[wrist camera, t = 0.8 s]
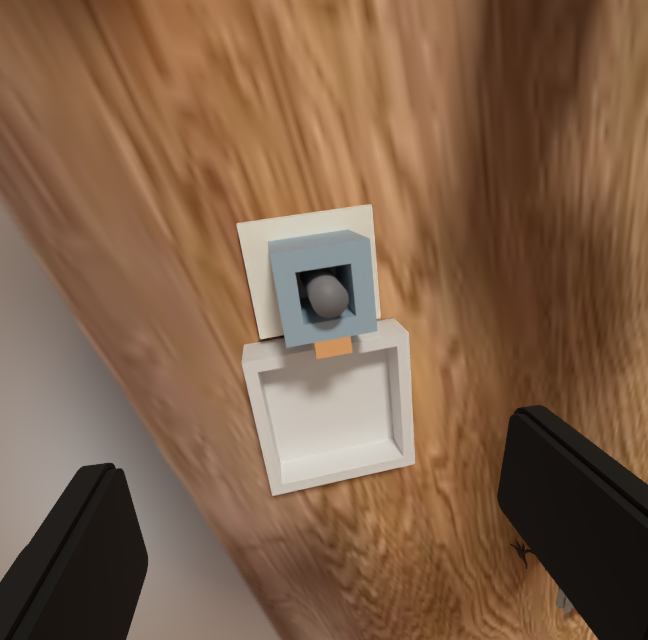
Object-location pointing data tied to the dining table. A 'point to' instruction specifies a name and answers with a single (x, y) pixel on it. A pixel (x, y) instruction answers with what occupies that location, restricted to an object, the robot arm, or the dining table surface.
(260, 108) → the dining table surface
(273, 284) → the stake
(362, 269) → the collar
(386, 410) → the tray
